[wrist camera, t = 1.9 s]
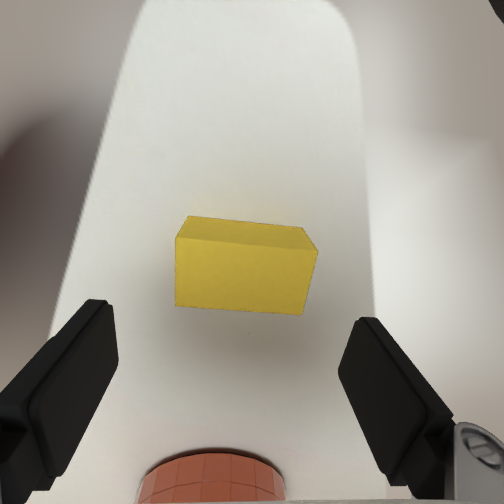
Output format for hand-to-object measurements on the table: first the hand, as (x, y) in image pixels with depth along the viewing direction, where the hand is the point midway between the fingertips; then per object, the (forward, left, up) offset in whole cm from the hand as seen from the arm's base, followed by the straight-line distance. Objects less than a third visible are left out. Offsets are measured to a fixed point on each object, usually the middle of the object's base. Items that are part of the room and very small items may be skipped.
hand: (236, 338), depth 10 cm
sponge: (0, 0, -7) cm, 7 cm away
